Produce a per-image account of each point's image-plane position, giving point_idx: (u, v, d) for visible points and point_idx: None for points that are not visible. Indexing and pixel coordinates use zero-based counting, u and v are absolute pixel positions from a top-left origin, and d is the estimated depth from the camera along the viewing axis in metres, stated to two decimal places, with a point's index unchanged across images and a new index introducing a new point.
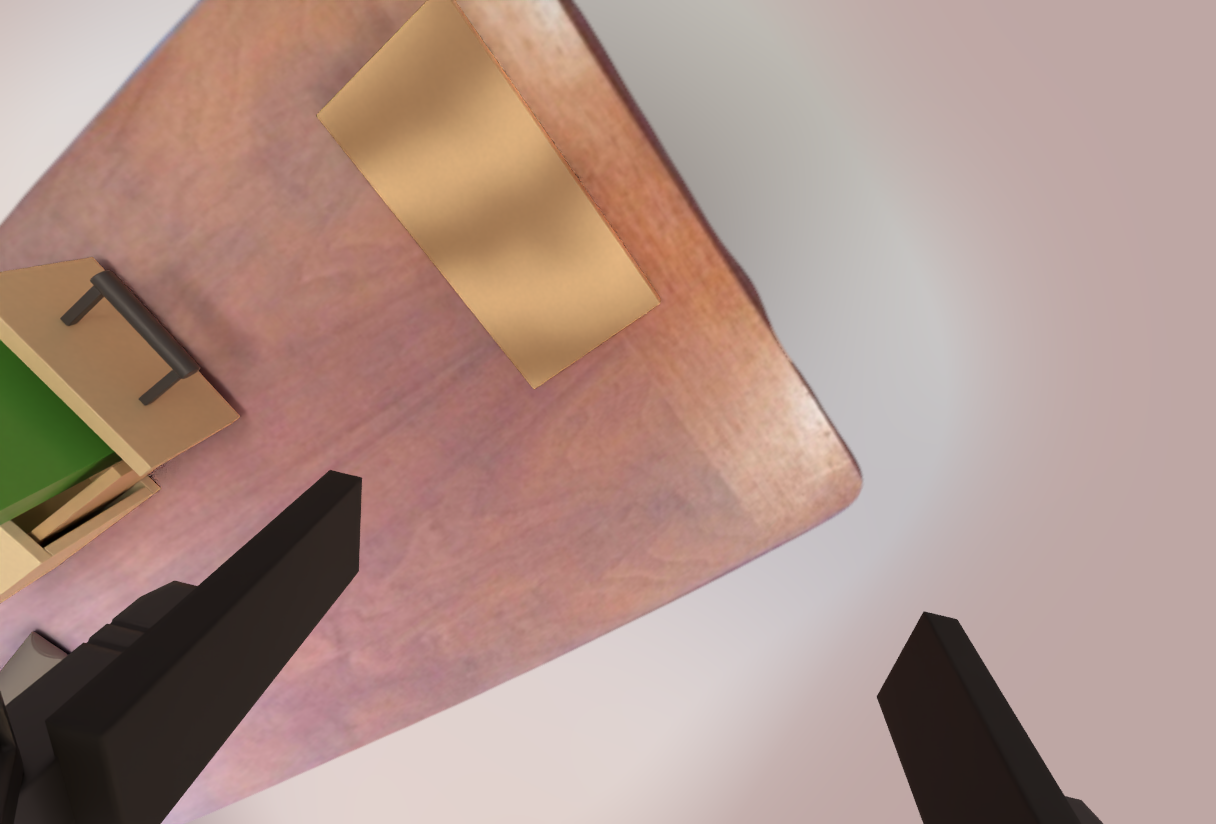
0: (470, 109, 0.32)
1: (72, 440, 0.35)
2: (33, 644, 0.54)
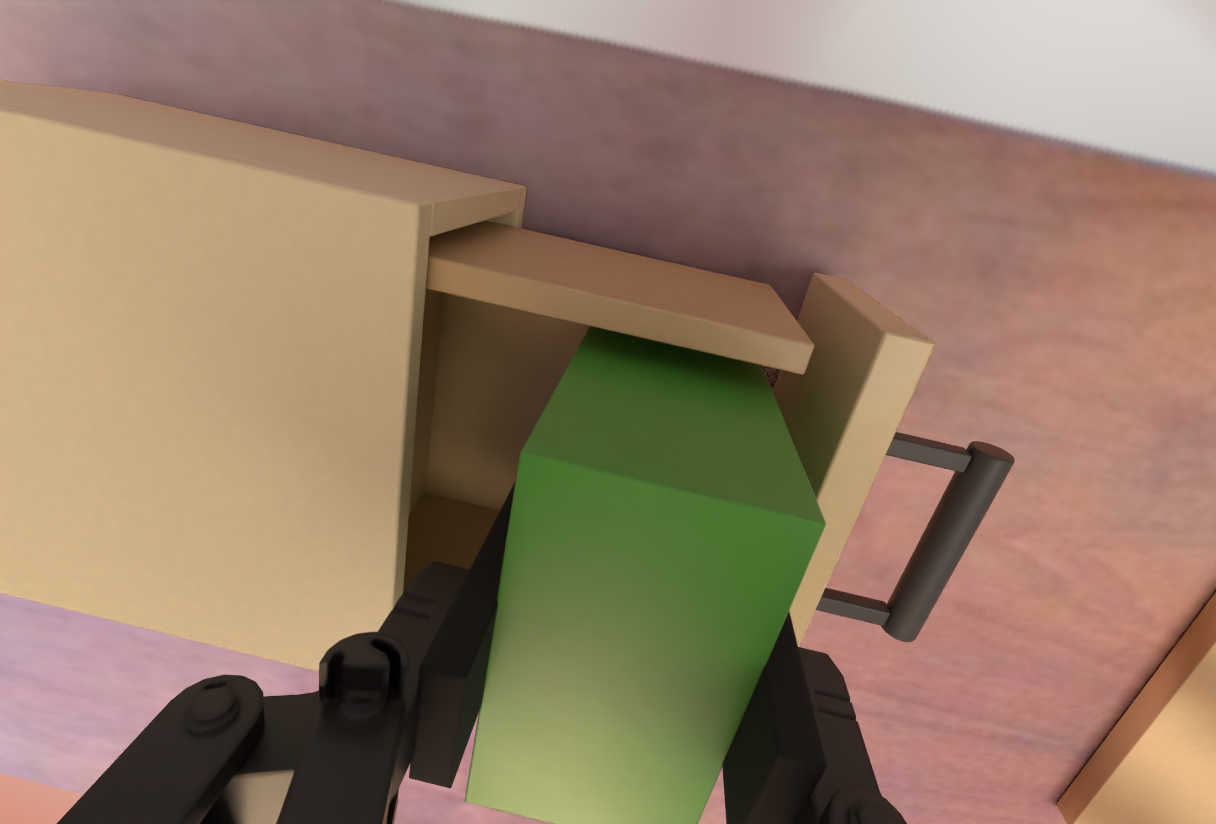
0: None
1: None
2: None
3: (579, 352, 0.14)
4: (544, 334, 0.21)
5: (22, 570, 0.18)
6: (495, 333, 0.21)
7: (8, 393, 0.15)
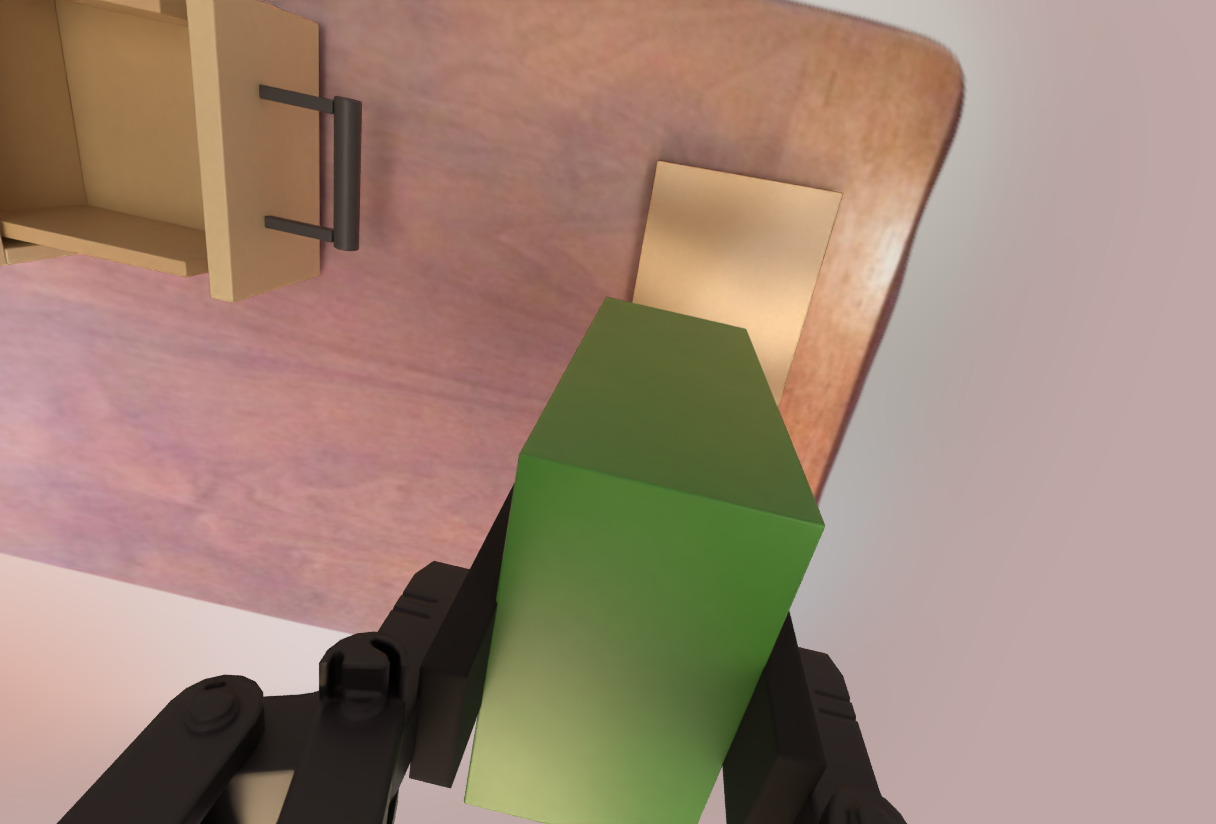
0: (769, 281, 0.33)
1: None
2: None
3: (578, 353, 0.14)
4: (131, 68, 0.32)
5: None
6: (101, 69, 0.32)
7: None
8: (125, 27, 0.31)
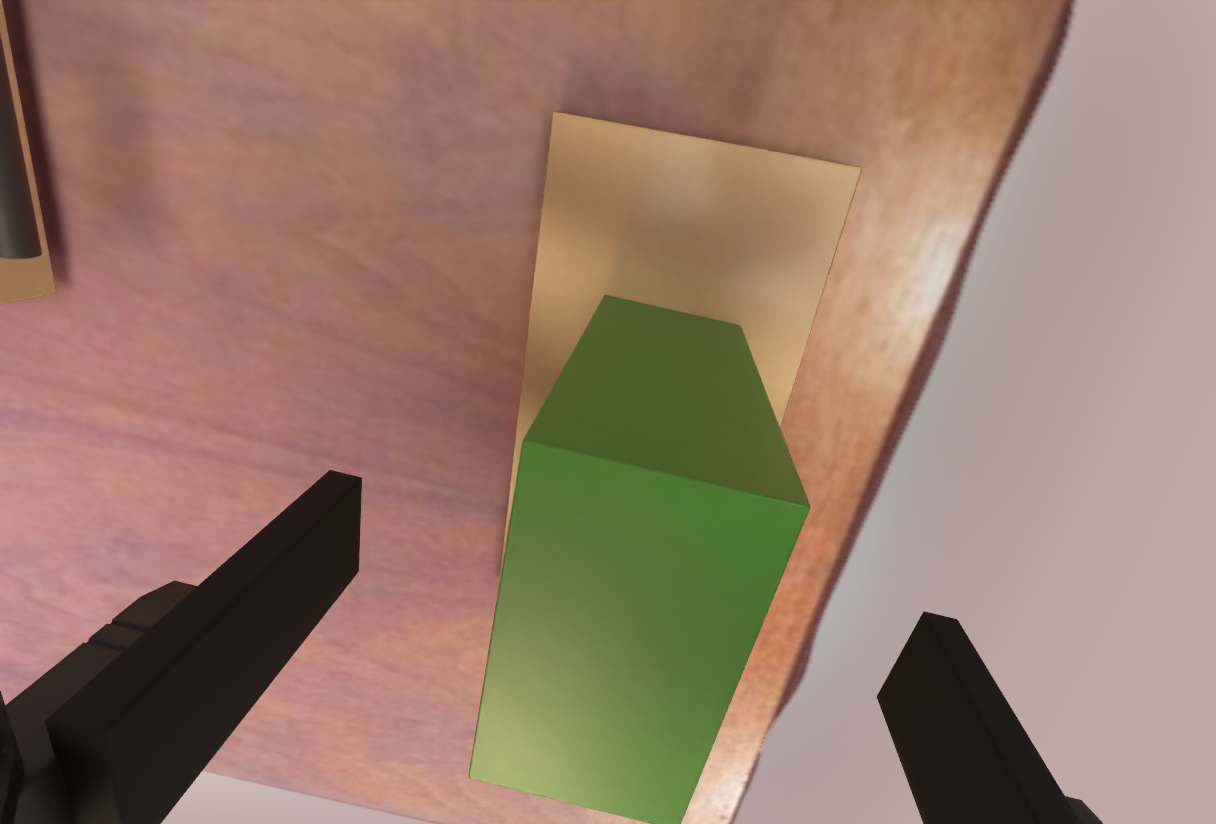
0: (741, 311, 0.21)
1: None
2: None
3: (578, 348, 0.15)
4: None
5: None
6: None
7: None
8: None
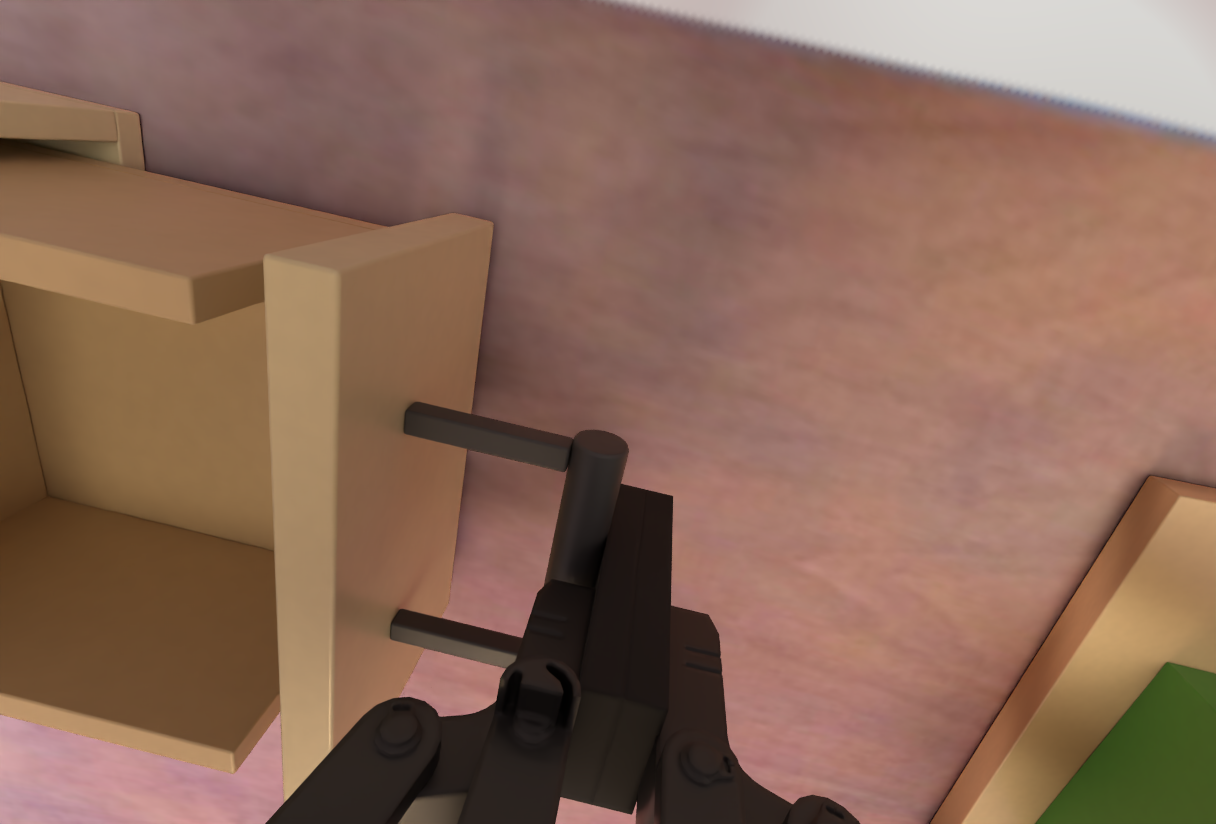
0: None
1: None
2: None
3: None
4: None
5: None
6: None
7: None
8: None
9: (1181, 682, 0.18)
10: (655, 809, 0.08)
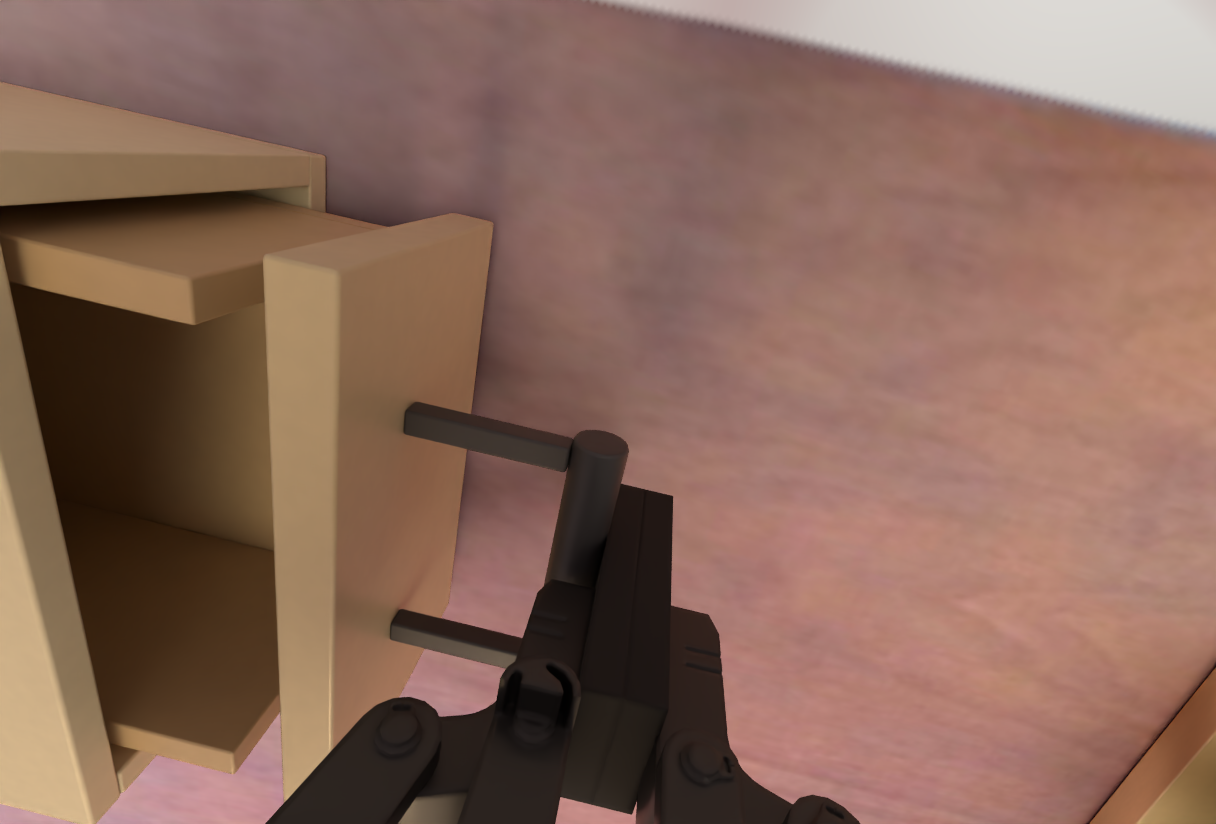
0: None
1: None
2: None
3: None
4: None
5: None
6: None
7: None
8: None
9: None
10: (655, 809, 0.08)
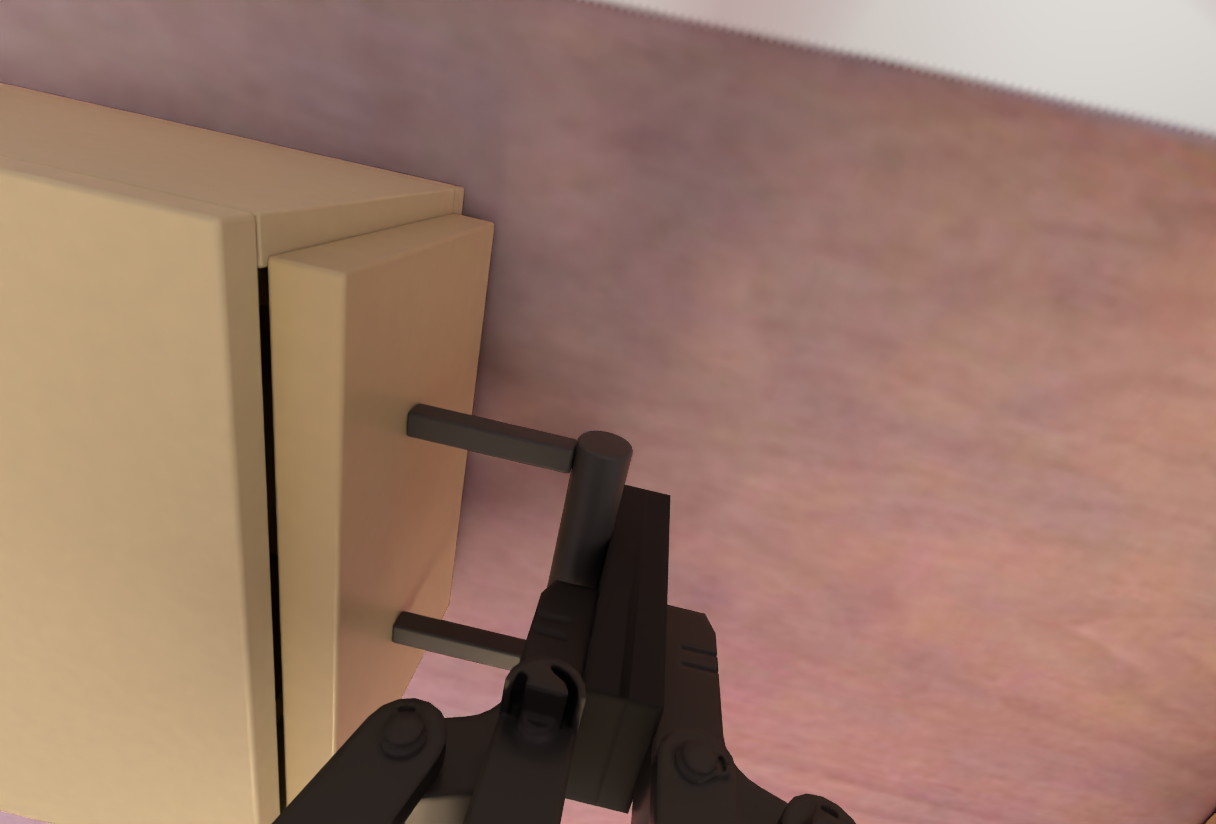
0: None
1: None
2: None
3: None
4: None
5: None
6: None
7: None
8: None
9: None
10: (650, 808, 0.08)
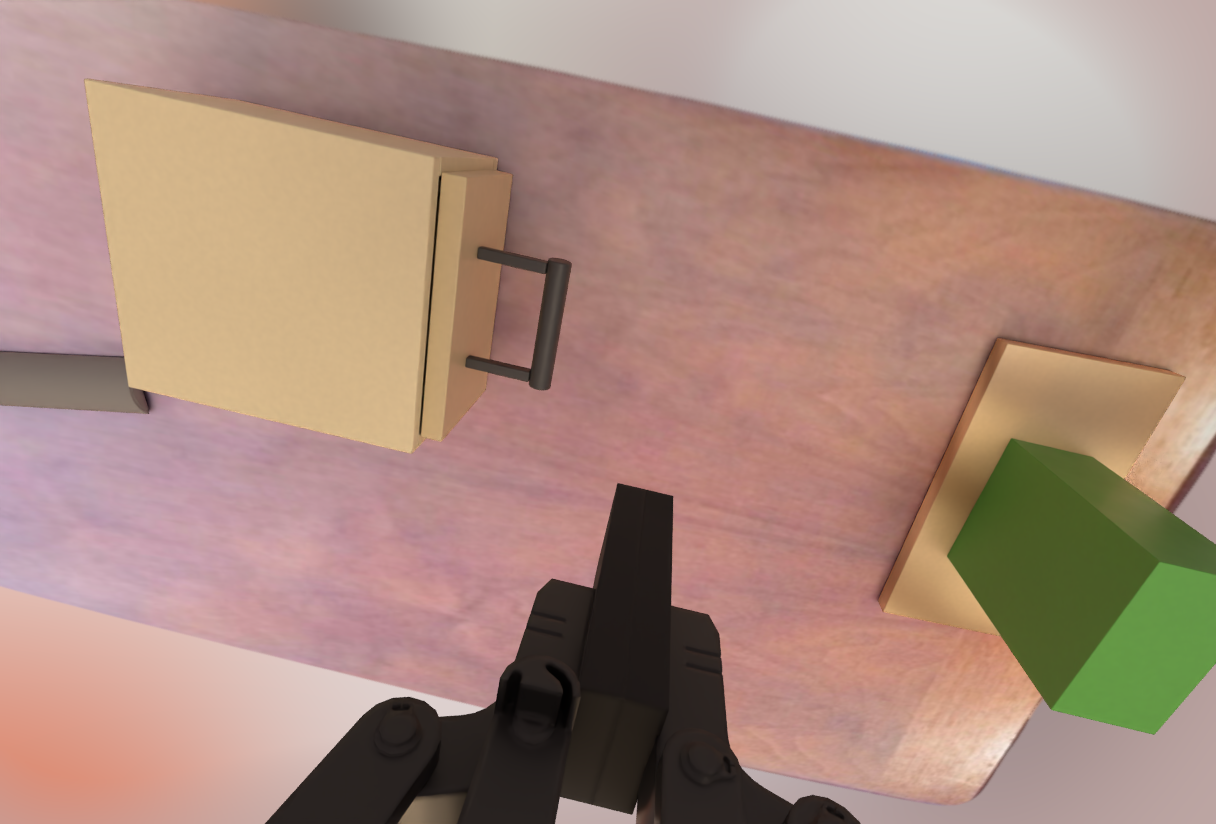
0: (1095, 449, 0.35)
1: None
2: None
3: (1081, 494, 0.29)
4: None
5: (196, 382, 0.30)
6: None
7: (205, 267, 0.28)
8: None
9: (1016, 445, 0.35)
10: (655, 810, 0.08)
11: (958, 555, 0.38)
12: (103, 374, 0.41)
